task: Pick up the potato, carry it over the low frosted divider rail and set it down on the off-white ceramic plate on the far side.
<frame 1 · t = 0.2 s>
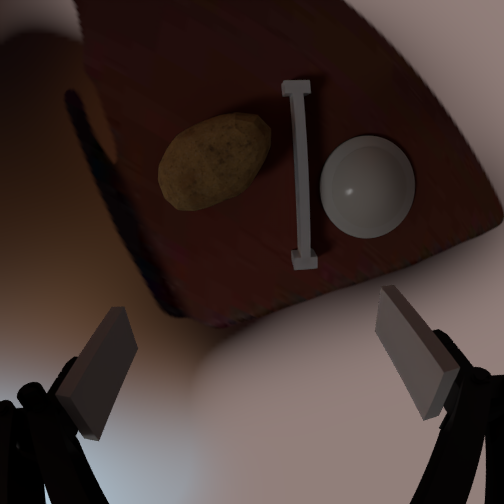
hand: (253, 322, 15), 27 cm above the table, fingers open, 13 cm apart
plate: (368, 187, 39), on the table
potato: (218, 156, 38), on the table
divider rail: (299, 174, 38), on the table
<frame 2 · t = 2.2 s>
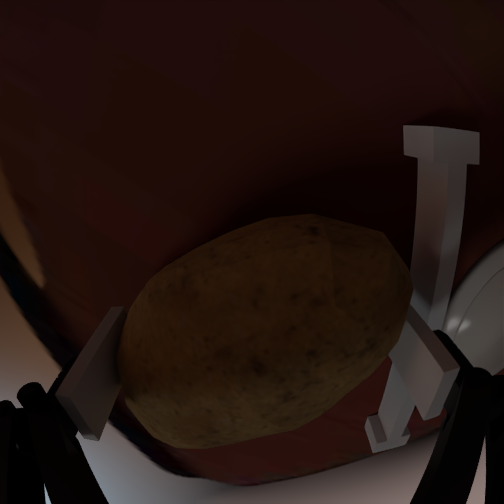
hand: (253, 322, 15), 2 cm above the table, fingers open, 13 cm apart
plate: (497, 317, 19), on the table
potato: (254, 289, 17), on the table
divider rail: (410, 316, 18), on the table
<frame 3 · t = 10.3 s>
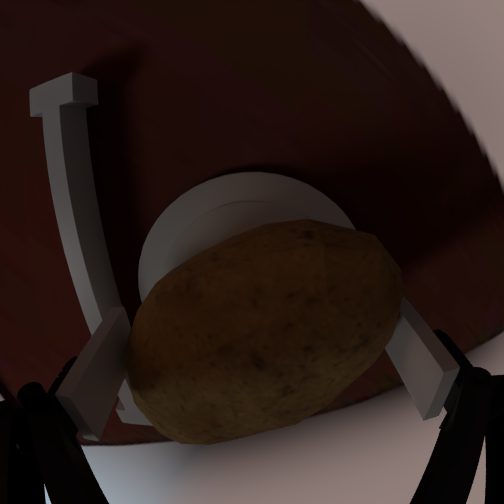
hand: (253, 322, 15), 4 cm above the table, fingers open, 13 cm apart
plate: (253, 287, 19), on the table
potato: (256, 292, 18), point 1 cm above the table, touching plate
divider rail: (104, 268, 18), on the table
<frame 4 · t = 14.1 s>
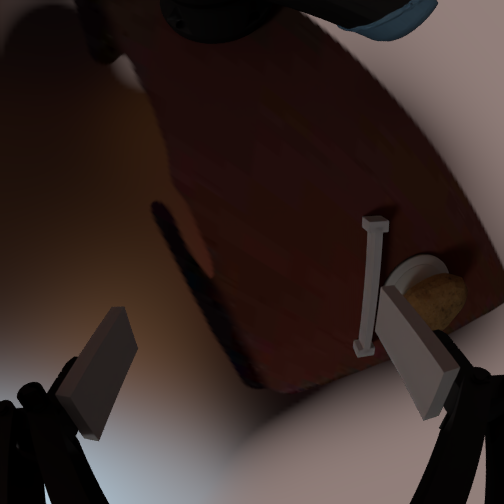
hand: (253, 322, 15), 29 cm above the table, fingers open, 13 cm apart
plate: (415, 291, 47), on the table
potato: (418, 293, 47), point 1 cm above the table, touching plate
divider rail: (367, 288, 47), on the table
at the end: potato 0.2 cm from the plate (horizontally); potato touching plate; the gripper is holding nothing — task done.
